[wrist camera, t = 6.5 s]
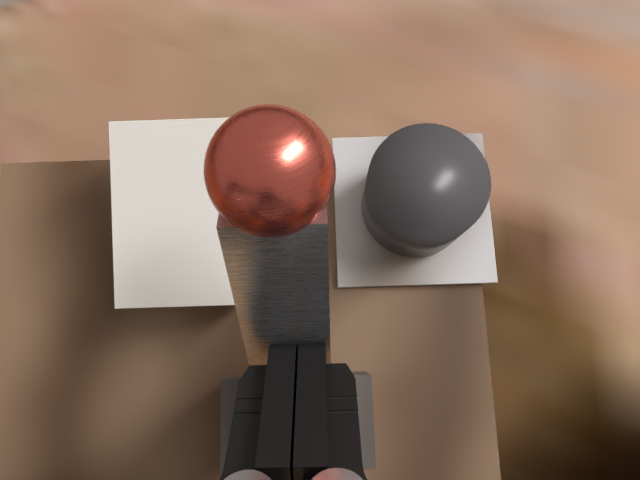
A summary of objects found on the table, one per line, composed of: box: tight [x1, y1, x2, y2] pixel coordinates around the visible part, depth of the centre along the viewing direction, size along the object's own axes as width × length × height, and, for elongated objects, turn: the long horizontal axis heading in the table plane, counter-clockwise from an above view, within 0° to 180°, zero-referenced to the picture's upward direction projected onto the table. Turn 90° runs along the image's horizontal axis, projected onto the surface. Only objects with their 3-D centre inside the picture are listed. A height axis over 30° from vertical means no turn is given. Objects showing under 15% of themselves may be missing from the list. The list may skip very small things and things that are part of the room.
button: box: [361, 123, 491, 257], centre depth 18 cm, size 4×4×3 cm
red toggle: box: [203, 104, 336, 365], centre depth 13 cm, size 3×3×12 cm
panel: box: [0, 133, 501, 480], centre depth 18 cm, size 20×18×5 cm
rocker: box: [109, 118, 235, 309], centre depth 18 cm, size 4×6×1 cm
